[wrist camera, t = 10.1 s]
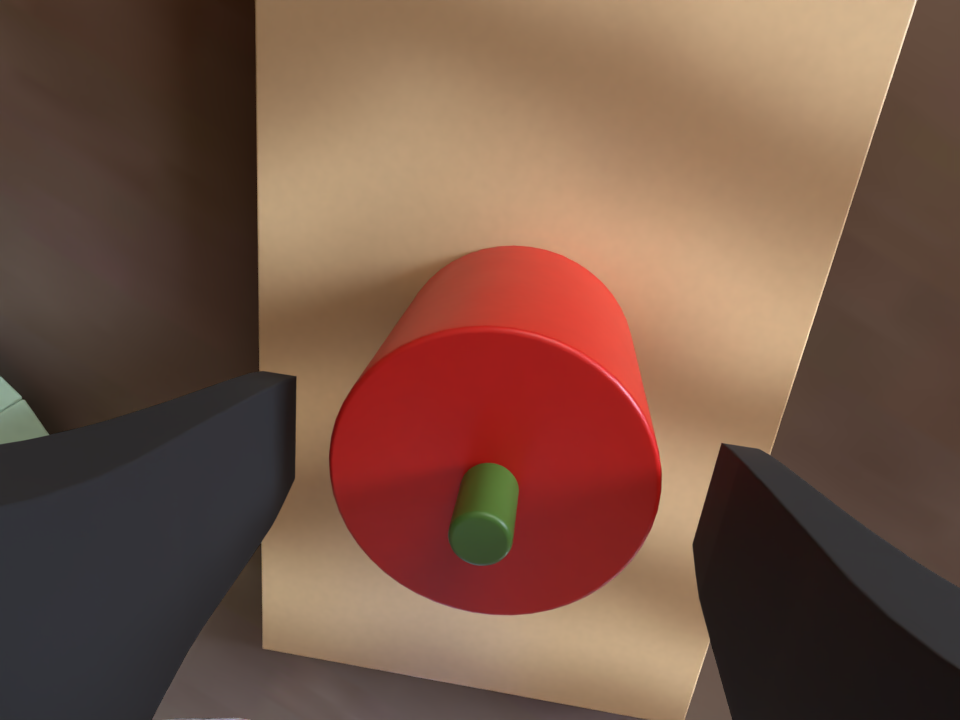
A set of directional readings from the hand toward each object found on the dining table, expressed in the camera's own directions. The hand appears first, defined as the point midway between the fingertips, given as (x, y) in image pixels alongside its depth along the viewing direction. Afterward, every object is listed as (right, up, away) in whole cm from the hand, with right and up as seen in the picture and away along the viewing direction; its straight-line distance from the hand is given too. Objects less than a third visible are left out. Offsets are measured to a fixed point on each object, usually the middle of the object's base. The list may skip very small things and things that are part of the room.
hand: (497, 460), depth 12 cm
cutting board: (+1, +2, +5) cm, 5 cm away
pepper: (+1, +2, +4) cm, 4 cm away
